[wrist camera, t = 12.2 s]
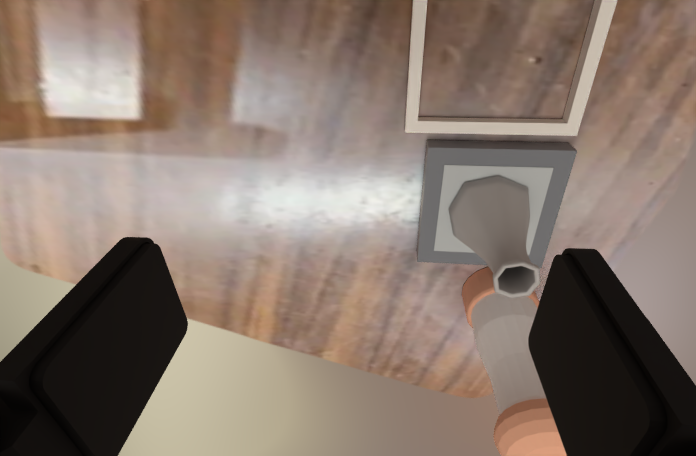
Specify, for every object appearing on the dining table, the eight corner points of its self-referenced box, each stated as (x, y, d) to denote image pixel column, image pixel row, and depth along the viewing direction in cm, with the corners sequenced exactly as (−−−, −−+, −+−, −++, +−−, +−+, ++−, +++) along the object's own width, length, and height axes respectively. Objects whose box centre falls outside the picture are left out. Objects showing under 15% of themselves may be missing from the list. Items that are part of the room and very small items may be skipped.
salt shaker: (474, 259, 41) (525, 437, 25) (542, 272, 41) (638, 459, 25) (453, 309, 45) (485, 491, 29) (515, 321, 45) (582, 510, 29)
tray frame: (417, -70, 27) (417, -73, 26) (631, -77, 26) (641, -80, 25) (404, 128, 35) (405, 132, 34) (571, 131, 33) (576, 135, 32)
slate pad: (426, 139, 35) (428, 148, 33) (568, 142, 34) (577, 151, 32) (416, 250, 41) (417, 262, 39) (535, 255, 40) (541, 268, 38)
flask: (541, 177, 34) (589, 242, 25) (518, 247, 37) (554, 324, 29) (455, 171, 34) (474, 233, 26) (441, 240, 38) (454, 314, 29)
